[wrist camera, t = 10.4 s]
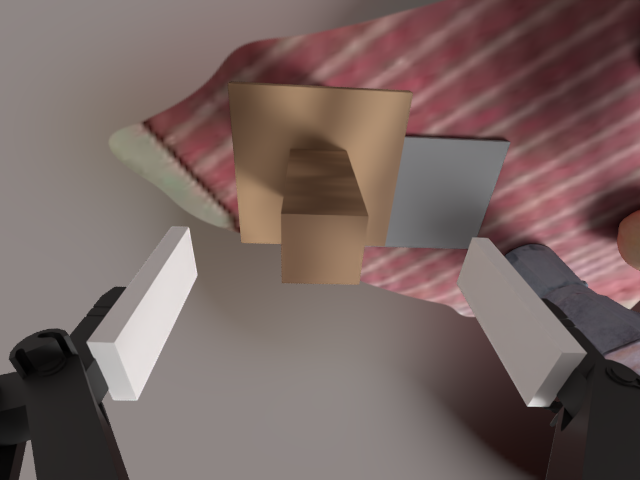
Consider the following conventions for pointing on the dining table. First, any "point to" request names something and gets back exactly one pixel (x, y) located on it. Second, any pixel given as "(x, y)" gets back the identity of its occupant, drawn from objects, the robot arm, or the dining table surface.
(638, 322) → the moka pot
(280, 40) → the dining table surface
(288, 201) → the walnut lid
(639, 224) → the fruit
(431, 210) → the rubber mat
